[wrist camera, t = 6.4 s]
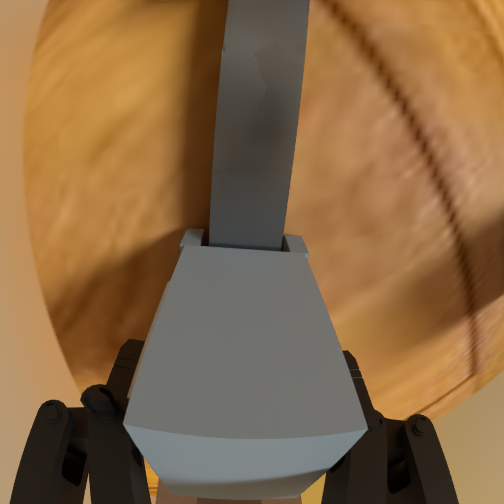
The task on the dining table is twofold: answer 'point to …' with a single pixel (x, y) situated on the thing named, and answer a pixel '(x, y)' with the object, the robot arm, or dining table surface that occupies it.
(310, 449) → the block
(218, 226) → the rail
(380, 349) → the dining table surface
